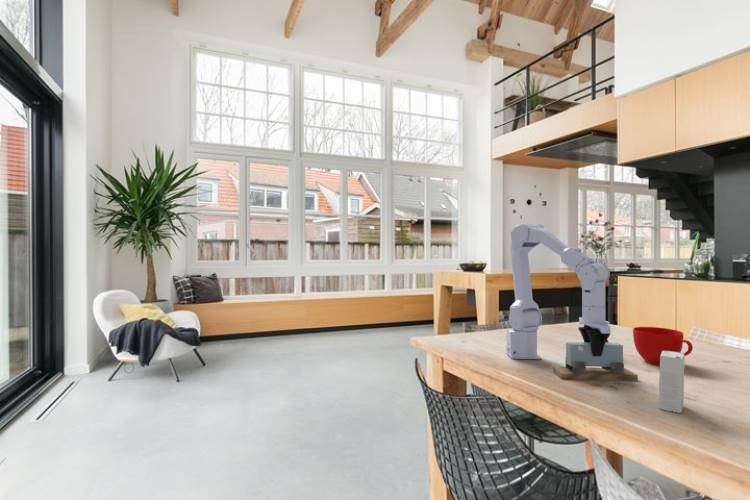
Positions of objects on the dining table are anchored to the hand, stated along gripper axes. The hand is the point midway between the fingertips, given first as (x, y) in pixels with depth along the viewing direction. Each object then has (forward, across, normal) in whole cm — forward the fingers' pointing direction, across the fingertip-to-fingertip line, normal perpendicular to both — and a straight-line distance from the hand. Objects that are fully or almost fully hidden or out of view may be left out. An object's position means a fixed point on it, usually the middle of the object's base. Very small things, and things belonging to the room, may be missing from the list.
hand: (593, 354), depth 112 cm
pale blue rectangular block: (+3, 0, 0) cm, 3 cm away
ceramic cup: (+6, +14, -27) cm, 31 cm away
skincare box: (+6, -22, -7) cm, 24 cm away
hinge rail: (+6, 0, 0) cm, 6 cm away
